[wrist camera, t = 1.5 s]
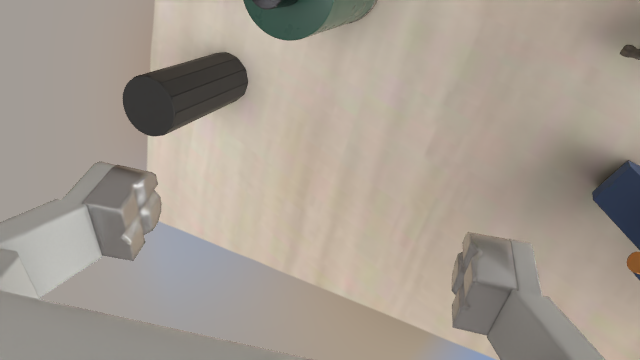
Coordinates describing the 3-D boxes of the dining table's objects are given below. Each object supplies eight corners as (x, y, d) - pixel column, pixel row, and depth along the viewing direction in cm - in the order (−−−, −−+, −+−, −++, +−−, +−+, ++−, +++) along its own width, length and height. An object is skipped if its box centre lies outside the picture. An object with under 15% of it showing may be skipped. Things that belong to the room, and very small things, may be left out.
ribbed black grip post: (211, 44, 56) (127, 65, 44) (253, 65, 55) (179, 93, 43) (200, 88, 59) (118, 119, 47) (239, 109, 58) (167, 146, 46)
